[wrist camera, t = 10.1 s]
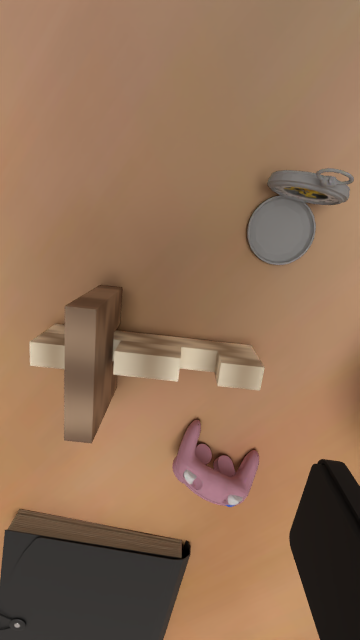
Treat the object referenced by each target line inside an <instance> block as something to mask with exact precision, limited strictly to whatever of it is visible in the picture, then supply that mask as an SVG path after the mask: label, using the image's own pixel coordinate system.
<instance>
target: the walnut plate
mask: <svg viewBox="0 0 360 640" xmlns="http://www.w3.org/2000/svg"><path fill="white" fill-rule="evenodd" d="M121 302H122V287H113V286H104V285H99V286H98V287H96V288H94V289H93V290H91V291H89V292H88V293H86V294H84V295H83V296H81V297H79V298H78V299H76V300H74V301H73V302H71V303H69V304H68V305H66V306H65V369H64V440H65V441H75V442H84V443H92V442H93V439H94V437H95V435H96V433H97V431H98V428H99V426H100V424H101V422H102V419H103V417H104V415H105V413H106V410H107V408H108V406H109V404H110V401H111V399H112V397H113V395H114V392H115V390H116V388H117V375H113V369H114V361H112V359H113V339H114V332H115V330H116V329H117V328H118V326H119V325H120V320H121Z"/></svg>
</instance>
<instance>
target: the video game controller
mask: <svg viewBox="0 0 360 640" xmlns="http://www.w3.org/2000/svg"><path fill="white" fill-rule="evenodd" d="M200 431H201V423H200V421H199V420H194V421H193V422H192V423H191V424H190V425H189V427H188V428H187V430H186V432H185V434H184V437H183V439H182V442H181V445H180V448H179V451H178V454H177V456H176V457H175V459H174V461H173V472H174V474H175V476H176V477H177V479H178V480H179V481H180V482H182V483H184V484H185V485H186V486H187V487H188V488H189V489H190V490H191V491H193V492H194V493H195V494H197V495H198V496H200V497H201V498H203V499H205V500H207V501H209V502H212V503H215V504H218V505H224V506H228V507H233V506H236V505H238V504H240V503H242V502H243V501H244V500H245V498H246V497H247V496H248V493H249V491H250V489H251V486H252V483H253V480H254V477H255V474H256V471H257V468H258V465H259V455H258V452H257V451H255V450H252V451H250V452H249V453H248V454H247V455H246V456H245V458H244V459H243V461H242V463H241V464H240V466H239V468H238V470H237V472H235V470H234V466H233V462H232V460H231V459H230V458H229V457H228V456H225V455H222V456H220V457H218V458H217V459H215V461H214V464H213V466H214V469H212V468H210V467H208V466H206V464H208V463H209V462H210V460H211V458H212V453H211V450H210V449H209V447H208V446H206V445H205V444H199V445H197V446H196V444H197V441H198V438H199V435H200Z"/></svg>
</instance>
